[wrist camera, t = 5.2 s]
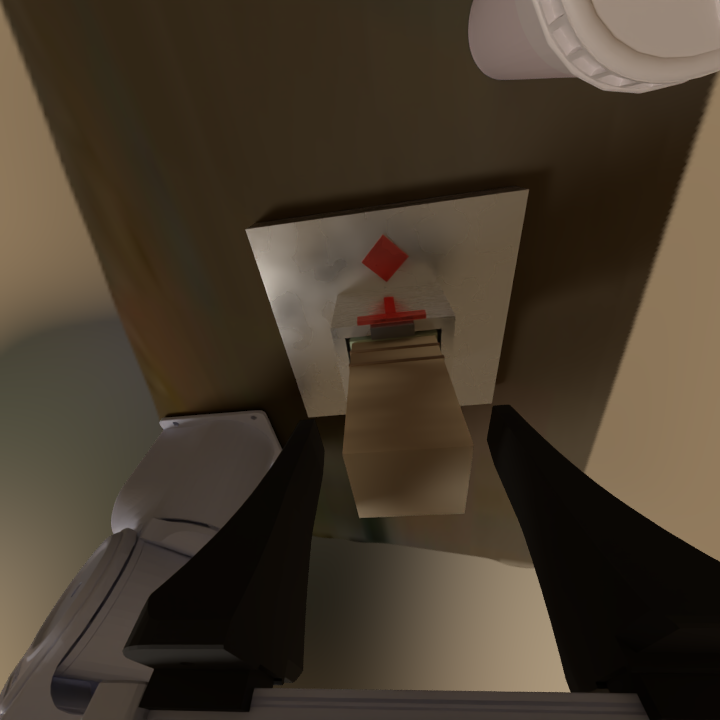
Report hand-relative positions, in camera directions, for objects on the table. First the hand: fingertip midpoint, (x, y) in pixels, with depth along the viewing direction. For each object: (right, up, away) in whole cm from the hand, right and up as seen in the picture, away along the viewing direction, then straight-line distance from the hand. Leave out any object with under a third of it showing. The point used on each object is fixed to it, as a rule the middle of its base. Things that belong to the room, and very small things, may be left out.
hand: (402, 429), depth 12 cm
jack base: (0, +6, +8) cm, 9 cm away
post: (0, +3, +4) cm, 5 cm away
